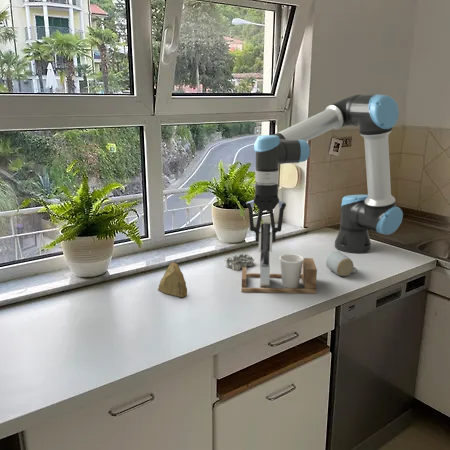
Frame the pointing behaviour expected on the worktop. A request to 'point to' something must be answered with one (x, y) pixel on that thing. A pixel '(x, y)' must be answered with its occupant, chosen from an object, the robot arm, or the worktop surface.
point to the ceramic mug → (340, 264)
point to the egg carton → (239, 261)
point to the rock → (173, 281)
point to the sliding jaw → (265, 255)
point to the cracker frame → (307, 277)
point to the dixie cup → (291, 269)
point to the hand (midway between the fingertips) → (265, 250)
